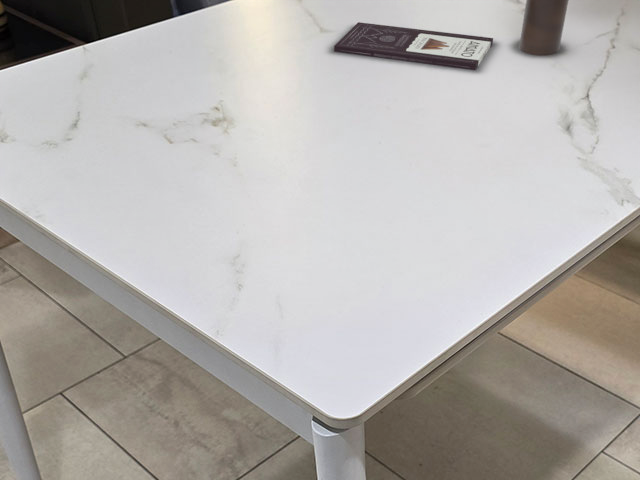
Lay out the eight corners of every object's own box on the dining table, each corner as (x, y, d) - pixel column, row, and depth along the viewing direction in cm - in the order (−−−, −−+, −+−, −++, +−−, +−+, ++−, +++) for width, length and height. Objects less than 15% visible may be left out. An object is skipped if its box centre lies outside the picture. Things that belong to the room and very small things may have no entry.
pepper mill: (555, 44, 108) (570, -38, 102) (561, 58, 104) (577, -26, 98) (516, 43, 109) (529, -38, 103) (521, 58, 105) (534, -25, 99)
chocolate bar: (358, 22, 114) (493, 38, 108) (358, 29, 115) (492, 45, 108) (334, 45, 108) (476, 64, 101) (334, 53, 109) (475, 71, 102)
